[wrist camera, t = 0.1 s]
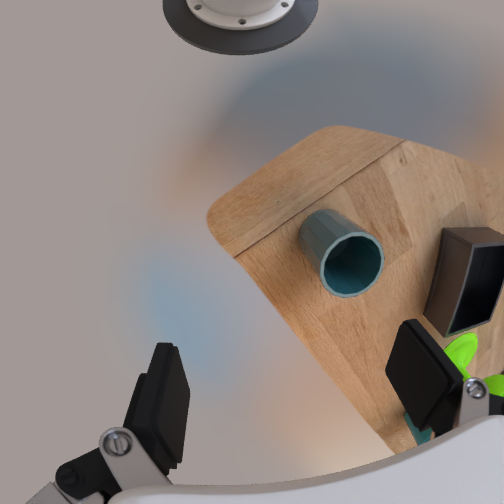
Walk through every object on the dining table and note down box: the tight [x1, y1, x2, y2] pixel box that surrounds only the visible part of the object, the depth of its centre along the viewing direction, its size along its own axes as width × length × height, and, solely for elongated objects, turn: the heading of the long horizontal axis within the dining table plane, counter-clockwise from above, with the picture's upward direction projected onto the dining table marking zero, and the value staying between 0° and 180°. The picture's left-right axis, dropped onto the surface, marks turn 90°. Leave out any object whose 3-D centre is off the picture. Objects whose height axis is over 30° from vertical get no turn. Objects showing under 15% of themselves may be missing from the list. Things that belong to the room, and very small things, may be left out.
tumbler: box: [299, 209, 385, 298], centre depth 28 cm, size 7×7×9 cm
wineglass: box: [443, 333, 504, 397], centre depth 36 cm, size 16×16×18 cm
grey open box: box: [423, 227, 504, 338], centre depth 32 cm, size 15×13×7 cm
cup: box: [404, 412, 432, 446], centre depth 46 cm, size 9×12×11 cm
